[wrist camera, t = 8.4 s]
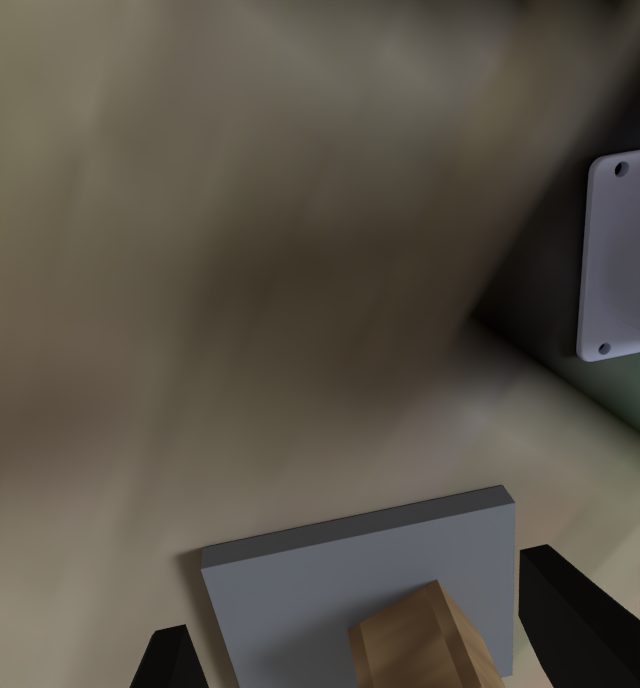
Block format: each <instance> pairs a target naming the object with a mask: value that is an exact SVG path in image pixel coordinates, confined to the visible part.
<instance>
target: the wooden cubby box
mask: <svg viewBox="0 0 640 688" xmlns="http://www.w3.org/2000/svg"><path fill="white" fill-rule="evenodd" d="M347 631H348V636H349V641H350V646H351V651H352V656H353V661H354V666H355V672H356V677H357V682H358V687H359V688H505V686H504V684H503V682H502V680H501V677H500V675H499V673H498V671H497V669H496V666H495V664H494V662H493V660H492V658H491V655H490V653H489V651H488V649H487V647H486V645H485V642H484V640H483V638H482V636H481V634H480V633H479V632H478V630H477V629H476V628H475V627H474V625H473V624H472V623H471V621H470V620H469V619H468V618H467V616H466V615H465V614H464V613H463V611H462V610H461V609H460V608H459V606H458V605H457V604H456V603H455V601H454V600H453V599H452V597H451V596H450V595H449V594H448V592H447V591H446V590H445V589H444V587H443V586H442V585H441V584H440V582H439V581H438V580H435V581H434V582H432V583H430V584H428V585H426V586H425V587H423V588H421V589H419V590H418V591H416V592H414V593H412V594H411V595H409V596H407V597H405V598H403V599H402V600H400V601H398V602H396V603H395V604H393V605H391V606H389V607H388V608H386V609H384V610H382V611H380V612H379V613H377V614H375V615H373V616H372V617H370V618H368V619H366V620H365V621H363V622H361V623H359V624H357V625H356V626H354V627H352V628H350V629H349V630H347Z"/></svg>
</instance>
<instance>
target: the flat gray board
mask: <svg viewBox="0 0 640 688" xmlns="http://www.w3.org/2000/svg"><path fill="white" fill-rule="evenodd" d="M514 549H515V502H514V500H513V499H512V497H511V496H510V495H509V493H508V492H507V490H506V489H505V487H504V486H503V485H502V486H497V487H492V488H487V489H483V490H478V491H473V492H468V493H463V494H459V495H454V496H449V497H444V498H439V499H435V500H430V501H425V502H420V503H415V504H411V505H406V506H401V507H396V508H391V509H387V510H382V511H377V512H372V513H367V514H363V515H358V516H353V517H348V518H344V519H339V520H334V521H329V522H324V523H320V524H315V525H310V526H305V527H300V528H296V529H291V530H286V531H281V532H276V533H272V534H267V535H262V536H257V537H252V538H248V539H243V540H238V541H233V542H228V543H224V544H219V545H214V546H209V547H205V548H203V551H202V561H201V572H202V575H203V578H204V581H205V584H206V587H207V590H208V593H209V596H210V599H211V602H212V605H213V608H214V611H215V614H216V617H217V620H218V623H219V626H220V629H221V632H222V635H223V638H224V641H225V644H226V647H227V650H228V653H229V656H230V659H231V662H232V665H233V668H234V671H235V674H236V677H237V680H238V683H239V686H240V688H359V687H358V682H357V677H356V672H355V666H354V661H353V656H352V651H351V646H350V641H349V636H348V631H347V630H349V629H350V628H352V627H354V626H356V625H357V624H359V623H361V622H363V621H365V620H366V619H368V618H370V617H372V616H373V615H375V614H377V613H379V612H380V611H382V610H384V609H386V608H388V607H389V606H391V605H393V604H395V603H396V602H398V601H400V600H402V599H403V598H405V597H407V596H409V595H411V594H412V593H414V592H416V591H418V590H419V589H421V588H423V587H425V586H426V585H428V584H430V583H432V582H434V581H435V580H438V581H439V582H440V584H441V585H442V586H443V587H444V589H445V590H446V591H447V592H448V594H449V595H450V596H451V597H452V599H453V600H454V601H455V603H456V604H457V605H458V606H459V608H460V609H461V610H462V611H463V613H464V614H465V615H466V616H467V618H468V619H469V620H470V621H471V623H472V624H473V625H474V627H475V628H476V629H477V630H478V632H479V633H480V634H481V636H482V638H483V640H484V642H485V645H486V647H487V649H488V651H489V653H490V655H491V658H492V660H493V662H494V664H495V666H496V669H497V671H498V673H499V675H500V677H506V676H510V675H512V665H513V607H514Z"/></svg>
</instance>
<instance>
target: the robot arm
mask: <svg viewBox="0 0 640 688" xmlns="http://www.w3.org/2000/svg"><path fill="white" fill-rule="evenodd" d="M618 163H621V170H620V172H619V173H618V174H617V175H615V168H616V166H617V165H618ZM604 343H605V345H604V347H603V348H602V349H601V350H599V347H600V346H601V345H602V344H604ZM576 351H577V355H578V356H579V357H580V358H581V359H583V360H584V361H587V362H592V361H597V360H602V359H607V358H612V357H618V356H623V355H628V354H633V353H638V352H640V150H636V151H630V152H624V153H618V154H612V155H606V156H602V157H599V158H597V159H596V160H595V161H594V162H593V163H592V165H591V167H590V170H589V175H588V189H587V203H586V218H585V232H584V247H583V261H582V275H581V290H580V304H579V318H578V333H577V347H576ZM518 616H519V618H520V620H521V623H522V625H523V627H524V629H525V631H526V634H527V636H528V638H529V640H530V643H531V645H532V647H533V649H534V651H535V653H536V656H537V658H538V660H539V662H540V664H541V666H542V668H543V670H544V672H545V673H546V675H547V677H548V679H549V680H550V682H551V684H552V686H553V687H554V688H640V620H639V619H638V618H637V617H635V616H634V615H633V614H632V613H630V612H629V611H628V610H626V609H625V608H624V607H623V606H621V605H620V604H619V603H618V602H616V601H615V600H614V599H613V598H612V597H610V596H609V595H608V594H607V593H605V592H604V591H603V590H602V589H601V588H599V587H598V586H597V585H596V584H595V583H593V582H592V581H591V580H590V579H589V578H587V577H586V576H585V575H584V574H583V573H581V572H580V571H579V570H578V569H577V568H575V567H574V566H573V565H572V564H571V563H570V562H568V561H567V560H566V559H565V558H564V557H562V556H561V555H560V554H559V553H558V552H557V551H555V550H554V549H553V548H552V547H550V546H549V545H548V544H545V545H541V546H536V547H532V548H527V549H523V550H520V569H519V613H518ZM130 688H209V686H208V684H207V681H206V678H205V676H204V673H203V670H202V667H201V665H200V662H199V659H198V657H197V654H196V651H195V649H194V646H193V643H192V641H191V638H190V635H189V633H188V630H187V627H186V624H184V625H180V626H175V627H171V628H166V629H162V630H157V631H155V633H154V634H153V635H152V637H151V639H150V642H149V644H148V646H147V649H146V651H145V653H144V656H143V658H142V660H141V663H140V665H139V667H138V670H137V672H136V674H135V676H134V679H133V681H132V683H131V685H130Z"/></svg>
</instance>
